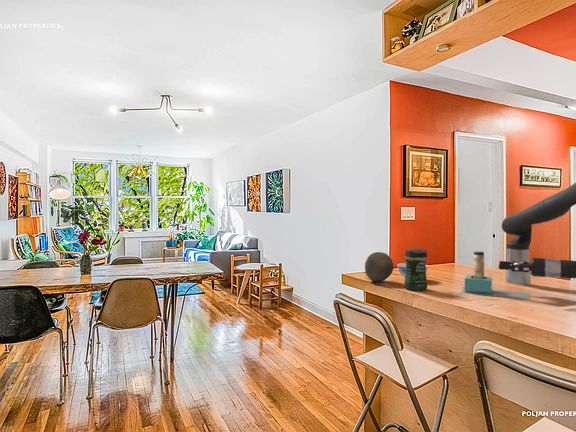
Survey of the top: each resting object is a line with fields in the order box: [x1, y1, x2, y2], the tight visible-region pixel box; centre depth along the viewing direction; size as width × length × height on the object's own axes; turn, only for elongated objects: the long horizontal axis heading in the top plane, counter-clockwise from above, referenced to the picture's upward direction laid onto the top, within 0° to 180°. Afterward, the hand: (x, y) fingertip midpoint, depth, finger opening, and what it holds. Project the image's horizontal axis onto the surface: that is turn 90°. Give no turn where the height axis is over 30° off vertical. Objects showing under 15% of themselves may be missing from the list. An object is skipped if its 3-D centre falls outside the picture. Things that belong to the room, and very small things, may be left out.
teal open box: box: [464, 274, 493, 296], centre depth 161 cm, size 10×10×6 cm
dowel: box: [473, 251, 485, 279], centre depth 160 cm, size 4×4×16 cm
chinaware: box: [396, 262, 429, 278], centre depth 193 cm, size 15×15×8 cm
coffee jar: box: [404, 248, 428, 291], centre depth 170 cm, size 10×8×19 cm
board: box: [460, 286, 531, 301], centre depth 158 cm, size 25×13×1 cm, turn 59°
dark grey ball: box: [364, 251, 394, 283], centre depth 188 cm, size 14×14×15 cm
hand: (499, 265), depth 156 cm, fingers open, 8 cm apart
